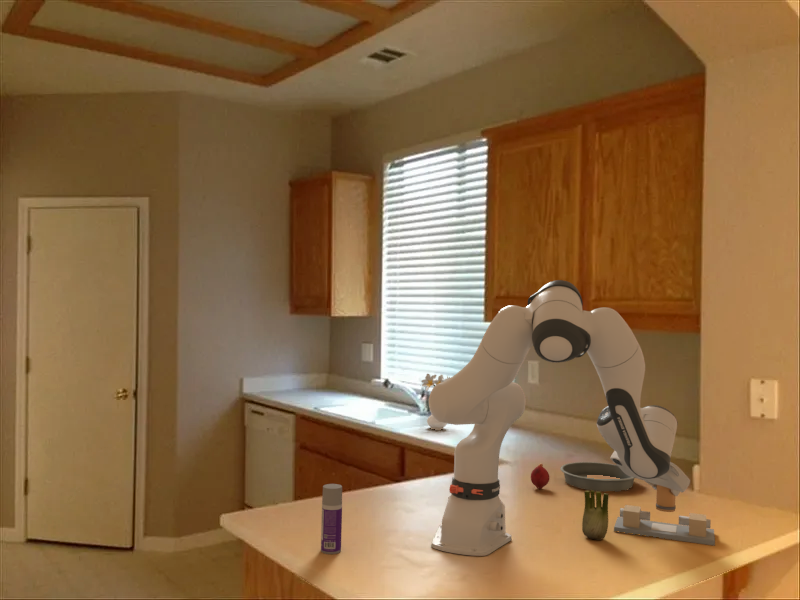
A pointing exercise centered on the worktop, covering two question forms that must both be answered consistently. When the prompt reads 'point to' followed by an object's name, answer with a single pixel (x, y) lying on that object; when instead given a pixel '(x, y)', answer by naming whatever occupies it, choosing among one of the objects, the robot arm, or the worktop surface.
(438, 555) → the worktop surface
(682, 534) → the bench
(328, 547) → the container
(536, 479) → the onion
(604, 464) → the cake pan
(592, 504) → the fennel bulb
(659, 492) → the sleeve
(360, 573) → the worktop surface
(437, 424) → the flower vase
